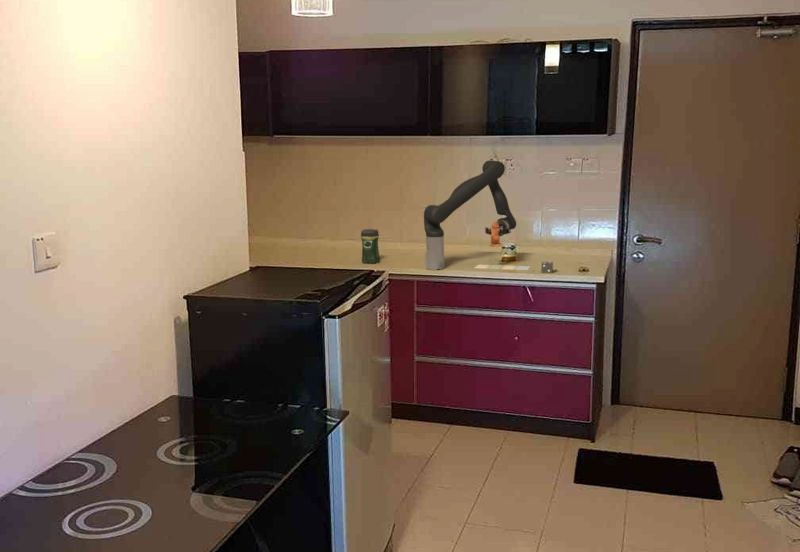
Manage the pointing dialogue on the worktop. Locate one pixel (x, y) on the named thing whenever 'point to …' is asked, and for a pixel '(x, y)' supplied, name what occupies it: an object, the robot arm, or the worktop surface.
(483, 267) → the board
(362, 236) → the coffee jar
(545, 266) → the die
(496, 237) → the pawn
